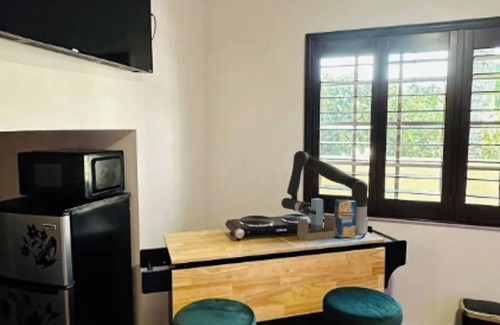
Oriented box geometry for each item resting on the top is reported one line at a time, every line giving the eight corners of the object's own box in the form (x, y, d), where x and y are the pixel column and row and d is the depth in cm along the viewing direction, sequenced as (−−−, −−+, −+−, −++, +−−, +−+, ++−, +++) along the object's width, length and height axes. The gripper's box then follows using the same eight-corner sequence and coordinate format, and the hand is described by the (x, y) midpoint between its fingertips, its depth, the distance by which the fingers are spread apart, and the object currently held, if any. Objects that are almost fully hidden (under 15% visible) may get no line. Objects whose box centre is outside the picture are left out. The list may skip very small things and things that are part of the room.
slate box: (317, 227, 228) (318, 198, 227) (322, 229, 224) (323, 199, 222) (310, 228, 226) (311, 198, 225) (315, 230, 221) (316, 200, 220)
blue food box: (355, 237, 228) (356, 201, 226) (338, 238, 226) (339, 201, 224) (350, 234, 234) (351, 199, 233) (333, 235, 232) (334, 199, 231)
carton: (324, 234, 234) (324, 215, 233) (334, 238, 225) (335, 218, 224) (297, 237, 225) (297, 217, 224) (307, 241, 216) (307, 221, 215)
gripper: (293, 202, 233) (309, 207, 218) (312, 201, 240) (329, 205, 225) (293, 214, 234) (309, 220, 219) (312, 212, 240) (329, 217, 225)
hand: (319, 212), depth 222 cm, fingers closed on slate box, 5 cm apart
